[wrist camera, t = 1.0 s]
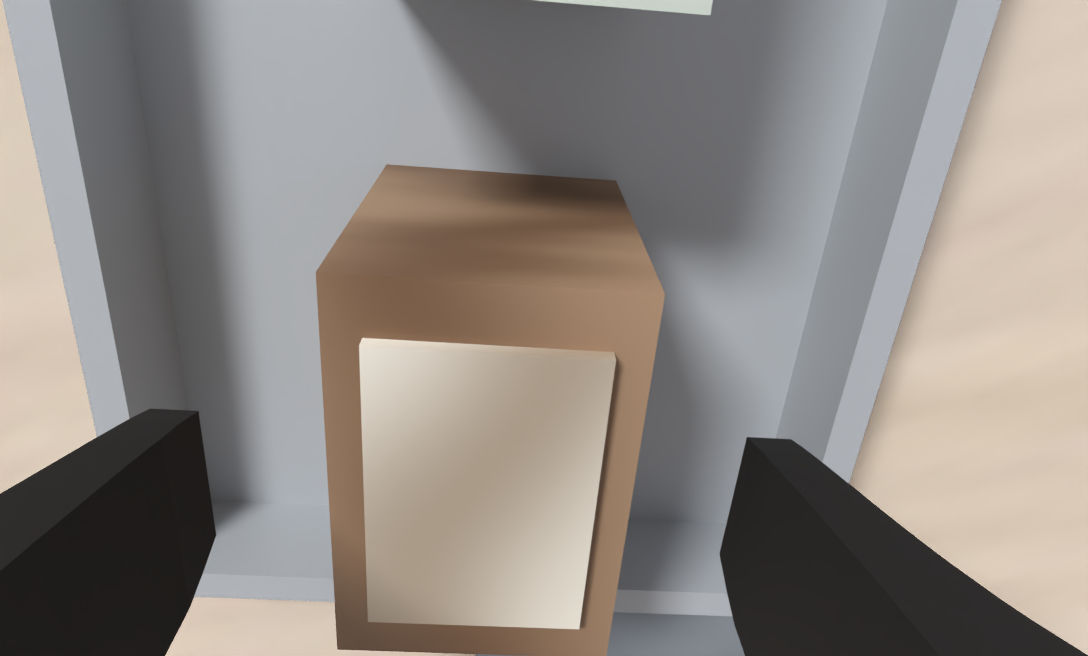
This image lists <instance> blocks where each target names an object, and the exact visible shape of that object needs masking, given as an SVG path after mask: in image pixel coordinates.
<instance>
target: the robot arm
mask: <svg viewBox="0 0 1088 656" xmlns="http://www.w3.org/2000/svg"><path fill="white" fill-rule="evenodd" d="M215 537H216V530H215V523H214V516H213V509H212V502H211V495H210V488H209V481H208V474H207V467H206V460H205V453H204V446H203V439H202V432H201V425H200V418H199V411H190V410H169V409H148V410H146V411H144V412H142V413H140V414H138V415H136V416H134V417H132V418H130V419H128V420H127V421H125V422H123V423H121V424H119V425H118V426H116V427H114V428H112V429H111V430H109V431H107V432H105V433H104V434H102V435H100V436H98V437H97V438H95V439H93V440H92V441H90V442H88V443H86V444H85V445H83V446H81V447H80V448H78V449H76V450H75V451H73V452H71V453H70V454H68V455H66V456H64V457H63V458H61V459H59V460H58V461H56V462H54V463H52V464H51V465H49V466H47V467H46V468H44V469H42V470H40V471H39V472H37V473H35V474H34V475H32V476H30V477H28V478H27V479H25V480H23V481H22V482H20V483H18V484H16V485H15V486H13V487H11V488H10V489H8V490H6V491H4V492H3V493H1V494H0V656H165V655H166V653H167V651H168V649H169V647H170V645H171V643H172V641H173V639H174V637H175V635H176V633H177V631H178V630H179V628H180V626H181V624H182V622H183V620H184V618H185V616H186V614H187V612H188V610H189V608H190V606H191V603H192V600H193V598H194V595H195V593H196V590H197V587H198V585H199V582H200V580H201V577H202V574H203V572H204V569H205V566H206V563H207V560H208V557H209V555H210V552H211V549H212V546H213V543H214V540H215ZM719 555H720V560H721V565H722V570H723V575H724V580H725V585H726V590H727V595H728V599H729V603H730V608H731V612H732V617H733V621H734V625H735V628H736V631H737V634H738V637H739V640H740V643H741V646H742V648H743V651H744V654H745V656H1088V655H1086V654H1085V653H1083V652H1081V651H1080V650H1078V649H1077V648H1075V647H1073V646H1072V645H1070V644H1069V643H1067V642H1066V641H1064V640H1062V639H1061V638H1059V637H1058V636H1056V635H1054V634H1053V633H1051V632H1050V631H1048V630H1046V629H1045V628H1043V627H1042V626H1040V625H1039V624H1037V623H1035V622H1034V621H1032V620H1031V619H1029V618H1028V617H1026V616H1025V615H1023V614H1022V613H1020V612H1019V611H1017V610H1016V609H1014V608H1013V607H1011V606H1010V605H1008V604H1007V603H1005V602H1004V601H1002V600H1001V599H999V598H998V597H997V596H995V595H994V594H992V593H991V592H990V591H988V590H987V589H985V588H984V587H983V586H981V585H980V584H978V583H977V582H976V581H974V580H973V579H971V578H970V577H969V576H967V575H966V574H964V573H963V572H962V571H960V570H959V569H957V568H956V567H955V566H953V565H952V564H950V563H949V562H948V561H946V560H945V559H944V558H942V557H941V556H940V555H938V554H937V553H936V552H934V551H933V550H932V549H931V548H929V547H928V546H927V545H925V544H924V543H923V542H921V541H920V540H919V539H917V538H916V537H915V536H914V535H912V534H911V533H910V532H908V531H907V530H906V529H905V528H903V527H902V526H901V525H899V524H898V523H897V522H896V521H894V520H893V519H892V518H891V517H889V516H888V515H887V514H886V513H884V512H883V511H882V510H881V509H879V508H878V507H877V506H876V505H874V504H873V503H872V502H871V501H869V500H868V499H867V498H866V497H864V496H863V495H862V494H861V493H860V492H858V491H857V490H856V489H855V488H853V487H852V486H851V485H850V484H848V483H847V482H846V481H845V480H844V479H842V478H841V477H840V476H839V475H837V474H836V473H835V472H834V471H832V470H831V469H830V468H829V467H827V466H826V465H825V464H824V463H822V462H821V461H820V460H819V459H817V458H816V457H815V456H814V455H812V454H811V453H810V452H808V451H807V450H806V449H804V448H803V447H802V446H800V445H799V444H797V443H796V442H795V441H793V440H792V439H778V438H757V437H747V438H746V443H745V447H744V451H743V455H742V460H741V464H740V468H739V473H738V477H737V481H736V485H735V490H734V494H733V498H732V502H731V507H730V511H729V515H728V519H727V524H726V528H725V532H724V536H723V541H722V545H721V549H720V553H719Z"/></svg>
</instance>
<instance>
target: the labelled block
mask: <svg viewBox="0 0 1088 656" xmlns="http://www.w3.org/2000/svg"><path fill="white" fill-rule="evenodd" d="M316 288H317V305H318V322H319V339H320V357H321V374H322V391H323V408H324V426H325V443H326V460H327V477H328V494H329V512H330V529H331V546H332V563H333V581H334V598H335V615H336V632H337V649H340V650H370V651H401V652H432V653H462V654H493V655H524V656H606V655H607V649H608V643H609V636H610V630H611V624H612V618H613V612H614V606H615V600H616V593H617V587H618V581H619V575H620V569H621V563H622V556H623V550H624V544H625V538H626V532H627V526H628V519H629V513H630V507H631V501H632V495H633V489H634V483H635V476H636V470H637V464H638V458H639V452H640V446H641V439H642V433H643V427H644V421H645V415H646V409H647V402H648V396H649V390H650V384H651V378H652V372H653V366H654V359H655V353H656V347H657V341H658V335H659V329H660V322H661V316H662V310H663V304H664V298H665V292H664V290H663V288H662V285H661V283H660V281H659V279H658V276H657V274H656V272H655V269H654V267H653V265H652V262H651V260H650V258H649V255H648V253H647V251H646V248H645V246H644V244H643V242H642V239H641V237H640V235H639V232H638V230H637V228H636V225H635V223H634V221H633V218H632V216H631V214H630V212H629V209H628V207H627V205H626V202H625V200H624V198H623V195H622V193H621V191H620V188H619V186H618V184H617V182H616V181H615V180H601V179H587V178H572V177H558V176H544V175H530V174H516V173H502V172H488V171H474V170H459V169H445V168H431V167H417V166H403V165H389V164H386V166H385V168H384V169H383V171H382V172H381V174H380V175H379V177H378V178H377V180H376V181H375V183H374V184H373V186H372V187H371V189H370V190H369V192H368V193H367V195H366V196H365V198H364V199H363V201H362V202H361V204H360V205H359V207H358V209H357V210H356V212H355V213H354V215H353V216H352V218H351V219H350V221H349V222H348V224H347V225H346V227H345V228H344V230H343V231H342V233H341V234H340V236H339V237H338V239H337V240H336V242H335V243H334V245H333V247H332V248H331V250H330V251H329V253H328V254H327V256H326V257H325V259H324V260H323V262H322V263H321V265H320V266H319V268H318V269H317V271H316Z"/></svg>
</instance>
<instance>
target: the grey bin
mask: <svg viewBox="0 0 1088 656" xmlns="http://www.w3.org/2000/svg"><path fill="white" fill-rule="evenodd" d="M2 1H3V5H4V10H5V14H6V19H7V24H8V28H9V33H10V37H11V42H12V47H13V51H14V56H15V61H16V65H17V70H18V74H19V79H20V84H21V88H22V93H23V97H24V102H25V107H26V111H27V116H28V120H29V125H30V130H31V134H32V139H33V144H34V148H35V153H36V157H37V162H38V167H39V171H40V176H41V180H42V185H43V190H44V194H45V199H46V203H47V208H48V213H49V217H50V222H51V227H52V231H53V236H54V240H55V245H56V250H57V254H58V259H59V263H60V268H61V273H62V277H63V282H64V287H65V291H66V296H67V300H68V305H69V310H70V314H71V319H72V323H73V328H74V333H75V337H76V342H77V346H78V351H79V356H80V360H81V365H82V370H83V374H84V379H85V383H86V388H87V393H88V397H89V402H90V406H91V411H92V416H93V420H94V425H95V430H96V434H97V437H98V436H100V435H102V434H104V433H105V432H107V431H109V430H111V429H112V428H114V427H116V426H118V425H119V424H121V423H123V422H125V421H127V420H128V419H130V418H132V417H134V416H136V415H138V414H140V413H142V412H144V411H146V410H148V409H169V410H190V411H199V418H200V425H201V432H202V439H203V446H204V453H205V460H206V467H207V474H208V481H209V488H210V495H211V502H212V509H213V516H214V523H215V530H216V537H215V540H214V543H213V546H212V549H211V552H210V555H209V557H208V560H207V563H206V566H205V569H204V572H203V574H202V577H201V580H200V582H199V585H198V587H197V590H196V593H195V595H194V597H213V598H240V599H268V600H295V601H323V602H335V598H334V581H333V563H332V546H331V529H330V512H329V494H328V477H327V460H326V443H325V426H324V408H323V391H322V374H321V357H320V339H319V322H318V305H317V288H316V271H317V269H318V268H319V266H320V265H321V263H322V262H323V260H324V259H325V257H326V256H327V254H328V253H329V251H330V250H331V248H332V247H333V245H334V243H335V242H336V240H337V239H338V237H339V236H340V234H341V233H342V231H343V230H344V228H345V227H346V225H347V224H348V222H349V221H350V219H351V218H352V216H353V215H354V213H355V212H356V210H357V209H358V207H359V205H360V204H361V202H362V201H363V199H364V198H365V196H366V195H367V193H368V192H369V190H370V189H371V187H372V186H373V184H374V183H375V181H376V180H377V178H378V177H379V175H380V174H381V172H382V171H383V169H384V168H385V166H386V164H389V165H403V166H417V167H431V168H445V169H459V170H474V171H488V172H502V173H516V174H530V175H544V176H558V177H572V178H587V179H601V180H615V181H616V182H617V184H618V186H619V188H620V191H621V193H622V195H623V198H624V200H625V202H626V205H627V207H628V209H629V212H630V214H631V216H632V218H633V221H634V223H635V225H636V228H637V230H638V232H639V235H640V237H641V239H642V242H643V244H644V246H645V248H646V251H647V253H648V255H649V258H650V260H651V262H652V265H653V267H654V269H655V272H656V274H657V276H658V279H659V281H660V283H661V285H662V288H663V290H664V292H665V298H664V304H663V310H662V316H661V322H660V329H659V335H658V341H657V347H656V353H655V359H654V366H653V372H652V378H651V384H650V390H649V396H648V402H647V409H646V415H645V421H644V427H643V433H642V439H641V446H640V452H639V458H638V464H637V470H636V476H635V483H634V489H633V495H632V501H631V507H630V513H629V519H628V526H627V532H626V538H625V544H624V550H623V556H622V563H621V569H620V575H619V581H618V587H617V593H616V600H615V606H614V612H625V613H653V614H680V615H708V616H732V612H731V608H730V603H729V599H728V595H727V590H726V585H725V580H724V575H723V570H722V565H721V560H720V555H719V553H720V549H721V545H722V541H723V536H724V532H725V528H726V524H727V519H728V515H729V511H730V507H731V502H732V498H733V494H734V490H735V485H736V481H737V477H738V473H739V468H740V464H741V460H742V455H743V451H744V447H745V443H746V438H747V437H757V438H778V439H792V440H793V441H795V442H796V443H797V444H799V445H800V446H802V447H803V448H804V449H806V450H807V451H808V452H810V453H811V454H812V455H814V456H815V457H816V458H817V459H819V460H820V461H821V462H822V463H824V464H825V465H826V466H827V467H829V468H830V469H831V470H832V471H834V472H835V473H836V474H837V475H839V476H840V477H841V478H842V479H844V480H845V481H846V482H847V483H848V484H849V481H850V478H851V475H852V472H853V469H854V466H855V462H856V459H857V456H858V453H859V450H860V447H861V444H862V440H863V437H864V434H865V431H866V428H867V425H868V421H869V418H870V415H871V412H872V409H873V406H874V402H875V399H876V396H877V393H878V390H879V387H880V384H881V380H882V377H883V374H884V371H885V368H886V365H887V361H888V358H889V355H890V352H891V349H892V346H893V342H894V339H895V336H896V333H897V330H898V327H899V324H900V320H901V317H902V314H903V311H904V308H905V305H906V301H907V298H908V295H909V292H910V289H911V286H912V282H913V279H914V276H915V273H916V270H917V267H918V264H919V260H920V257H921V254H922V251H923V248H924V245H925V241H926V238H927V235H928V232H929V229H930V226H931V223H932V219H933V216H934V213H935V210H936V207H937V204H938V200H939V197H940V194H941V191H942V188H943V185H944V181H945V178H946V175H947V172H948V169H949V166H950V163H951V159H952V156H953V153H954V150H955V147H956V144H957V140H958V137H959V134H960V131H961V128H962V125H963V121H964V118H965V115H966V112H967V109H968V106H969V103H970V99H971V96H972V93H973V90H974V87H975V84H976V80H977V77H978V74H979V71H980V68H981V65H982V61H983V58H984V55H985V52H986V49H987V46H988V43H989V39H990V36H991V33H992V30H993V27H994V24H995V20H996V17H997V14H998V11H999V8H1000V5H1001V1H1002V0H713V2H712V8H711V15H700V14H689V13H677V12H665V11H653V10H641V9H629V8H618V7H606V6H594V5H582V4H570V3H559V2H547V1H535V0H2Z"/></svg>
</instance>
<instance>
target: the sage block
mask: <svg viewBox="0 0 1088 656" xmlns="http://www.w3.org/2000/svg"><path fill="white" fill-rule="evenodd" d="M535 1H547V2H559V3H570V4H582V5H594V6H606V7H618V8H629V9H641V10H653V11H665V12H677V13H689V14H700V15H711V8H712V2H713V0H535Z"/></svg>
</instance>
